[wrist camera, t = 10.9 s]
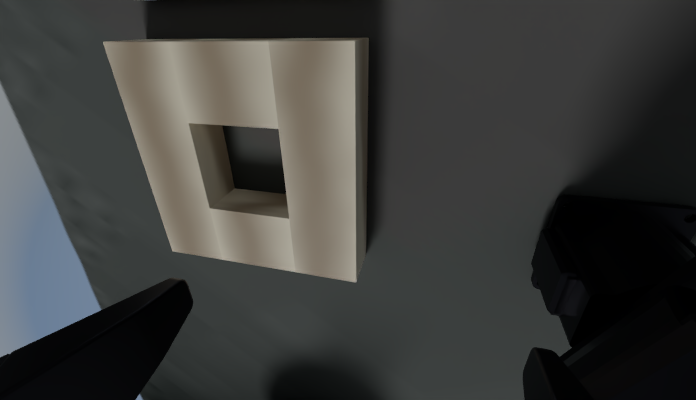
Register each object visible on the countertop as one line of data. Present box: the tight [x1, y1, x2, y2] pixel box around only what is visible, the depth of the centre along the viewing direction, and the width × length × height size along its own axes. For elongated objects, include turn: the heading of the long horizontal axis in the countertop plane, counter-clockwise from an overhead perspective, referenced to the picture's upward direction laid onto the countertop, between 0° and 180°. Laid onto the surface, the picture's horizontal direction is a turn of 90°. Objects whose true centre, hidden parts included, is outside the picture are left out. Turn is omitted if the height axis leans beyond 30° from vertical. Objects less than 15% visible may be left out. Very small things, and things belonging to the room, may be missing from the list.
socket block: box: [103, 38, 369, 282], centre depth 21 cm, size 14×14×3 cm
